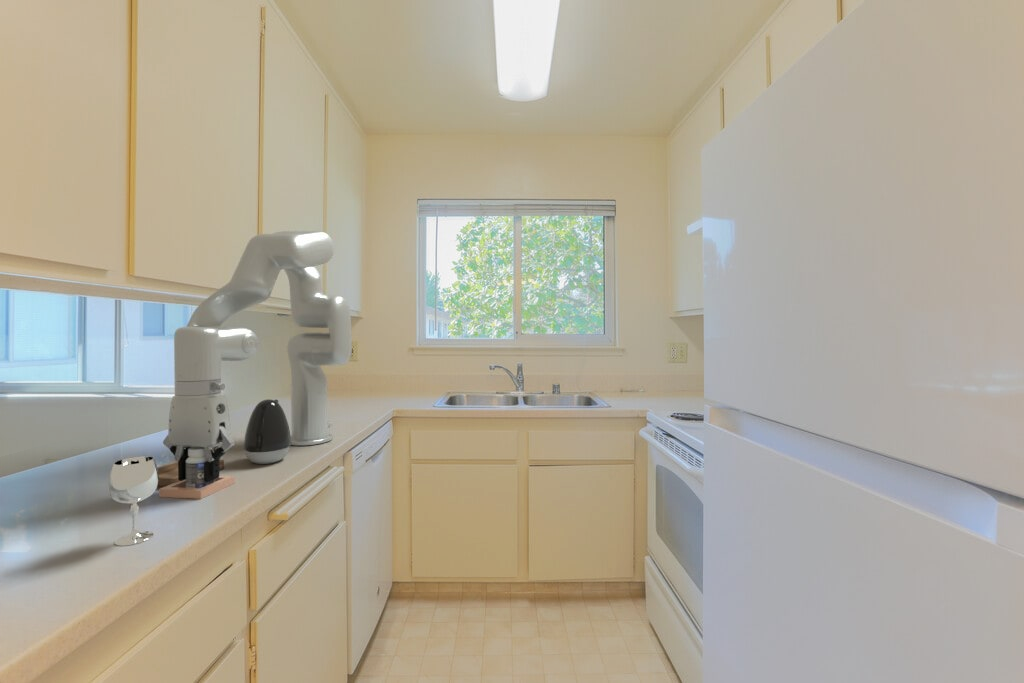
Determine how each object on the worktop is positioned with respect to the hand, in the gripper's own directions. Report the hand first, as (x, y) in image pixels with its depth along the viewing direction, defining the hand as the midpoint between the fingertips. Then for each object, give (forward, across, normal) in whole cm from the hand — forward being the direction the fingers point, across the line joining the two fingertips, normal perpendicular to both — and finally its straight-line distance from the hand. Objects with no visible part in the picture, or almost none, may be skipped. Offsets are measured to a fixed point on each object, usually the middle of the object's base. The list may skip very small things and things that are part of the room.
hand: (199, 478), depth 87 cm
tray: (+2, +10, -6) cm, 12 cm away
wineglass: (+2, -7, +20) cm, 22 cm away
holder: (+2, 0, 0) cm, 2 cm away
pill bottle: (+2, 0, 0) cm, 2 cm away
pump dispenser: (+3, -1, -20) cm, 20 cm away
